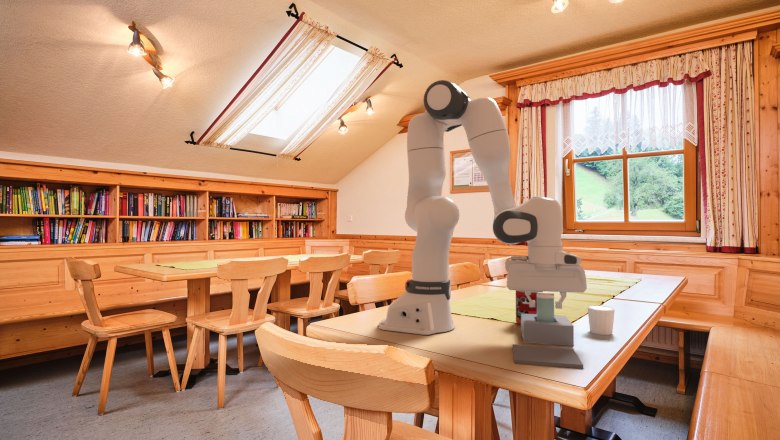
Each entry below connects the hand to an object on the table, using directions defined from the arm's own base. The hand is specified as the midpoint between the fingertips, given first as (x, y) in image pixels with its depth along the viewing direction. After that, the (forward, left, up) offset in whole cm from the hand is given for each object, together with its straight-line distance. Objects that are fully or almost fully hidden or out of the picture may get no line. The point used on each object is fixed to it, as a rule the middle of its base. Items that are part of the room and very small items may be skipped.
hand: (545, 307), depth 111 cm
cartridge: (0, 0, -8) cm, 8 cm away
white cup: (+16, +10, -8) cm, 21 cm away
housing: (0, 0, -8) cm, 8 cm away
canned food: (-3, +15, -8) cm, 17 cm away
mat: (-2, -17, -8) cm, 19 cm away
